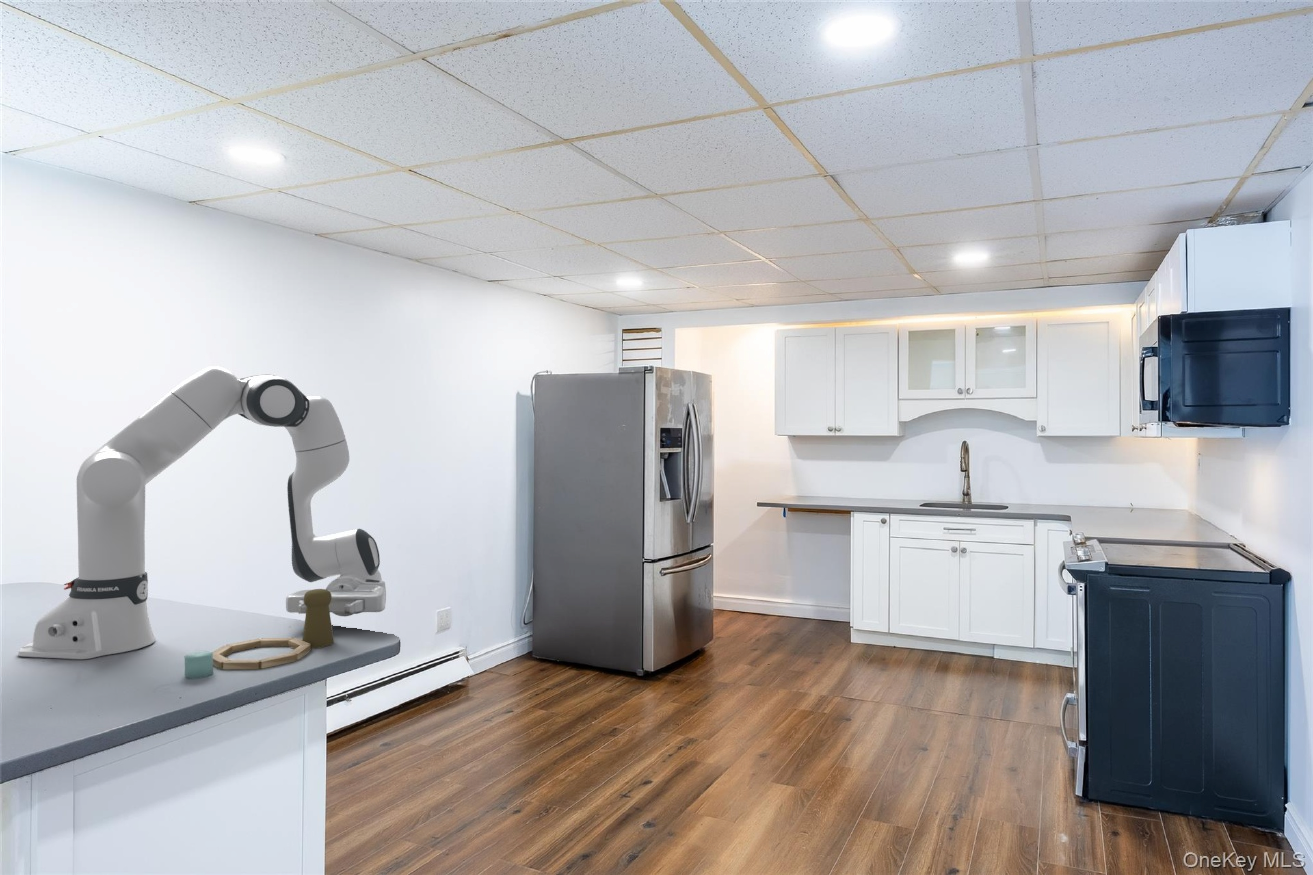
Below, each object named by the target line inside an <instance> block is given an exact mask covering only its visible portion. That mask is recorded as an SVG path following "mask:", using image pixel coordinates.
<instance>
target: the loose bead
mask: <svg viewBox="0 0 1313 875" xmlns="http://www.w3.org/2000/svg"><path fill="white" fill-rule="evenodd" d="M212 652H213V651H196V652H192V653H188V654H186V655H185V656H184V678H186V679H201V678H206V677H209V676H212V675H213V674H214V665H213V653H212Z"/></svg>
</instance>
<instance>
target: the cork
mask: <svg viewBox="0 0 1313 875" xmlns="http://www.w3.org/2000/svg"><path fill="white" fill-rule="evenodd" d="M309 590H310V591H308V592H306V594H305V595H304V604H305V605H306V607H307V609H306V614H305V617H304V618H305V619H304V626H303V633H302V639H301V640H302V641H305V642H307V643H310V645H311V649H319V648H325V647H326V648H327V647H329V645H330V646H332V645H334V644H335V640H334V639H335V638H334V633H333V628H332V627H333V626H332V620H331V614H330V613H331V612H330V611H329V604H330V602H331V599H332V596H331V593H330V591H328V590H326V588H314V589H309Z"/></svg>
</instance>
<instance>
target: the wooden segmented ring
mask: <svg viewBox="0 0 1313 875" xmlns="http://www.w3.org/2000/svg"><path fill="white" fill-rule="evenodd" d="M302 640H303V639H299V638H297V637H295V638H294V637H262V638H255V639H250V640H245V641H238V642H233V643H229V644H226V645H223V646H220V647H218V648H217V649H216V650H214V651H211V652H212V653H213V667H215V668H216V667H217V668H218V669H220V670H259V669H265V668H270V667H274V666H280V665H283V664H288V663H289V664H290V663H294V662H297V661H299V660H300V659H302V658H303V657H305V655H307V654H308V653H310V652H311V649H312V648H311V645H310V643H307V642H305V641H302ZM255 647H256V648H260V647H289V648H291V649H293V650H292V651H291V652H288V653H285V654H279V655H274V656H271V657H265V658H261V659H259V658H258V659H229V658H227V656H229V655H230V654H232V653H235V652H240V651H244V650H245V649H246V650H251V649H255Z"/></svg>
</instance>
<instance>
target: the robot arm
mask: <svg viewBox="0 0 1313 875" xmlns="http://www.w3.org/2000/svg"><path fill="white" fill-rule="evenodd" d="M235 415H238V416H240V417H242V418H244V419H247V421H251V422H253V423H255V424H257V425H260V426H264V427H265V426H267V427H276V428H277V427H278V428H279V427H284V428H285V430H287V432H288V433H289V435H290V438H291V440H292V445H293V449H294V452H295V456H296V458H295V459H296V460H295V461H296V462H295V463H296V464H295V468H294V471H293V472H292V473H290V475H289V476H288V479H287V487H286V488H287V505H288V515H289V516H288V517H289V526H290V535H291V536H290V537H291V538H290V539H291V566H292V570H293V572H294V574H295V575H296V576H298V578H300V579H302V580H303V581H306V582H308V583H314V582H317V581H321V580H324V579H326V578H330V577H334V576H338V577H337V578H335V579H333V580H332V581H331V582H329V584H328V585H327V586H326V588H325V589H326V590H328V591H330V593H331V596H332V599H331V602H330V604H329V611H330V613H332V614H334V615H335V616H339V617H350V616H353V615H358V614H361V613H380V612H383V611H384V610H385V609H386V601H387V600H386V599H387V590H386V589H387V588H386V582H385V581H384V580H382V579H383V578H382V575H381V573H380V571H379V567H380V563H381V561H380V552H379V547H378V545H377V542H376V540H375V537H373V536H372V535H370V533H368V532H367V531H366V530H364V529H362V528H357V529H350V530H346V531H340V532H337V533H332V534H326V535H321V536H316V535H315V533H314V528H313V518H312V516H313V515H312V508H311V504H312V503H311V502H312V499H313V497H314V496H315V494H316V493H317V492H319V491H321V490H322V489H324V488H325V487H328V486H329V485H330V484H332V483H333V482H335V481H336V480H337V479H338V478H340V477H341V476H342V475H343V474H344V473H345V471H346V470H347V468H348V467H349V463H350V452H349V446H348V443H347V439H346V435H345V432H344V429H343V426H342V423H341V421H340V418H339V415H338V413H337V411H336V410H335V407H334V406H333V404H332V402H331V401H330V400H329V399H327V398H326V397H322V396H318V395H316V396H315V395H314V396H313V395H312V396H306V395H305V394H304V393H303V392H302V391H301V390H300V389H299V388H298V387H297V386H296V385H295V384H294V383H293V382H291V381H290V380H289V379H287V378H283V377H281V376H277V375H274V374H259V375H252V376H247V377H242V378H238V377H237V376H236V375H235V374H234V373H232V372H231V371H229V370H227V369H226V368H223V367H220V366H209V367H206V368H204V369H202V370H201V371H199V372H197V373H195V374H194V375H193V374H192V375H191V376H190V377H189V378H187V379H185V380H184V381H182V382H181V383H180V384H178V385H177V386H176V387H174V388H173V389H172V390H170V392H168V393H166V394H165V395H164V396H163V397H162V398H160V399H159V400H158V401H156V402H155V403H154V404H153V405H152V406H150V408H148V409H147V410H146V411H144V412H143V413H142V414H141V415H140V416H138V417H137V418H136V419H135V420H133V421H132V422H131V423H129V424H128V425H127V426H126V427H124V428H123V429H122V430H121V431H120V432H118V433H116V434H115V435H114V436H113V437H112V438H110V439H109V440H108V441H107V442H105V443H104V444H103V445H102V446H101V447H99V448H98V449H97V450H95V451H94V452H92V454H91V455H89V456H88V457H87V458H86V459H85V460H84V461H83V462H82V464H81V466H80V467H79V470H78V472H77V475H76V508H77V509H76V510H77V511H76V512H77V513H76V515H77V560H78V561H77V562H78V563H77V564H78V571H77V573H78V574H77V575H78V576H77V577H76V578H75V579H73V580H71V581H69V582H66V583H64V584H63V586H65V587H64V588H63V590H64V591H66V590H70V592H69V594H68V597H67V598H65V599H64V600H63V601H62V602H60V604H58V605H57V606H55V607H54V608H52V609H51V610H50V611H48V612H47V613H46V614H44V615H43V616H41V618H39V619H38V621H37V622H36V624H35V628H34V632H33V636H32V642H29V643H27V644H25V645H24V646H22V647H20V648H19V649H18V651H17V652H18V653H17V656H18V657H29V658H47V659H48V658H50V659H51V658H52V659H53V658H54V659H69V660H70V659H71V660H87V659H89V660H90V659H93V658H96V657H102V656H106V655H112V654H113V655H114V654H121V653H126V652H128V651H129V652H130V651H134V650H138V649H141V648H144V647H147V646H149V645H152V644H153V643H155V642H156V637H155V635H154V631H153V629H152V625H151V621H150V620H151V619H150V617H149V611H148V609H149V608H148V596H149V585H148V584H149V579H148V572H147V571H146V561H145V560H146V556H145V555H146V553H145V552H146V551H145V550H146V544H145V541H146V540H145V539H146V537H145V532H146V531H145V527H146V485H148V483H150V482H151V481H152V480H153V479H155V478H156V477H157V476H158V475H160V474H161V473H162V472H163V471H165V470H166V469H167V468H169V467H170V466H171V465H173V464H174V463H176V461H178V460H179V459H181V458H182V457H183V456H184V455H185V454H187V453H188V452H189V451H190V450H191V449H192V448H194V447H195V446H196V445H197V444H199V442H201V441H202V440H203V439H204V438H205V437H207V436H208V435H209V434H210V433H212V431H214V429H216V428H217V427H218V426H219V425H220V424H221V423H222V422H223V421H225V420H227V419H228V418H230V417H232V416H235ZM310 590H311V589H304V590H302V589H301V590H298V591H295V592H293V593H290V594H288V595H287V596H286V598H285V610H286V612H287V613H292V614H294V613H298V614H299V615H302V614H303V615H306V609H307V607H306V605H305V604H304V595H305V594H306V592H308V591H310Z"/></svg>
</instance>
